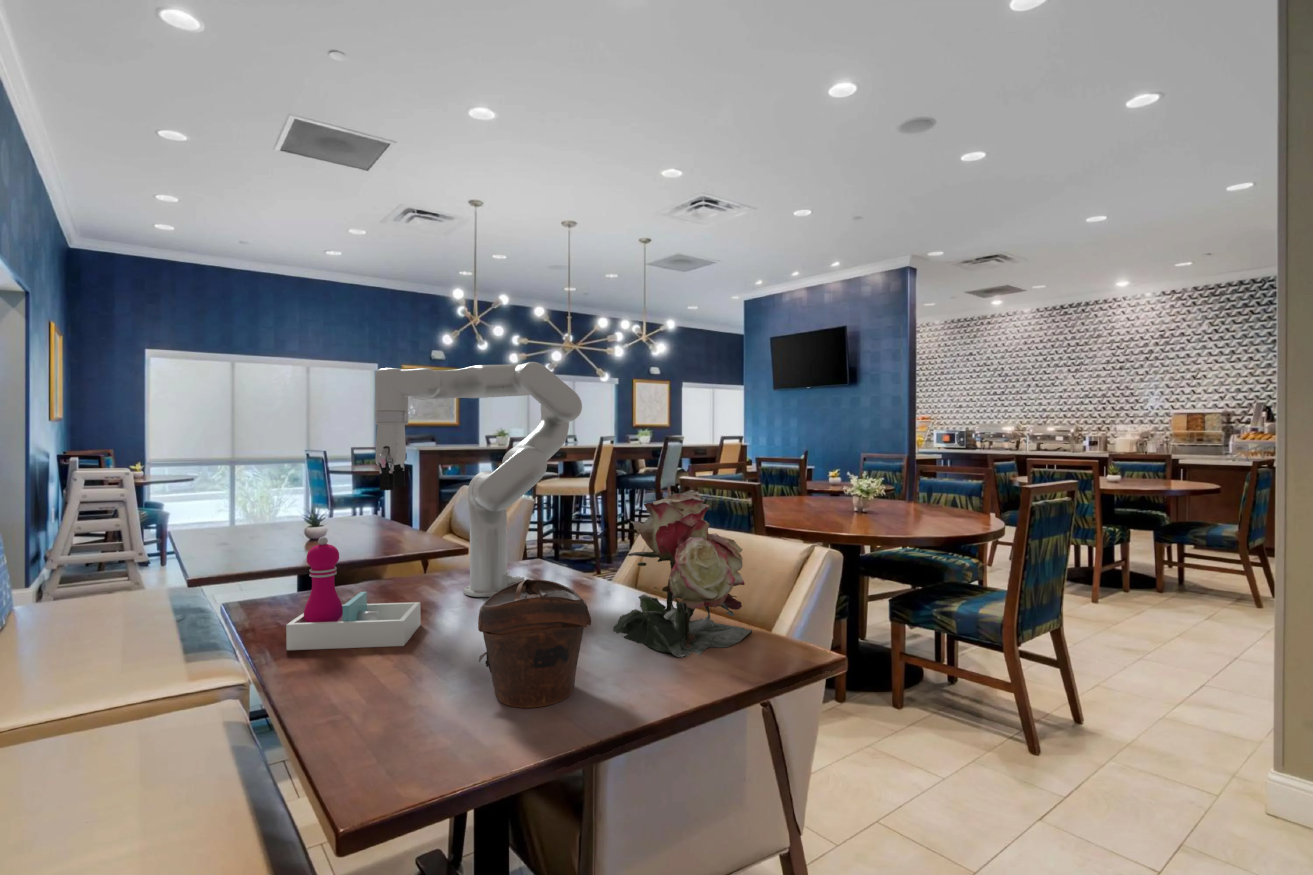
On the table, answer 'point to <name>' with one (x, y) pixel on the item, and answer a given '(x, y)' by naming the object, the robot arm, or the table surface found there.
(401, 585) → the table surface
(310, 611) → the pepper mill
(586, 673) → the table surface
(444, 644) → the table surface
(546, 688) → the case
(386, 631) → the white tray
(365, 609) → the pusher
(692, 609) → the rose bouquet
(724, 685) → the table surface
